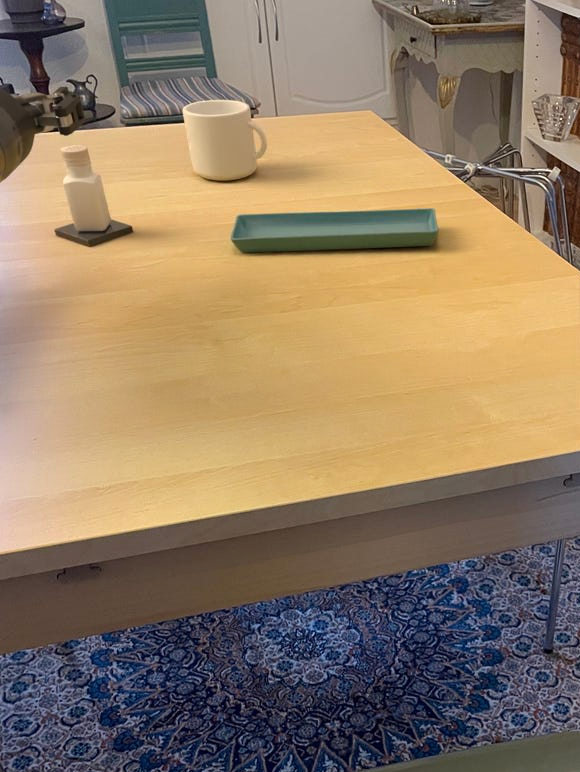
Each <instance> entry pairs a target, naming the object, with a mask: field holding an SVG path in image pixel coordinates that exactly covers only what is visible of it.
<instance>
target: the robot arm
mask: <svg viewBox="0 0 580 772" xmlns="http://www.w3.org/2000/svg"><path fill="white" fill-rule="evenodd" d="M31 103H35V105H33V104H31ZM51 104H52V110H53V111H51V107H50V105H51ZM84 123H86V117H85V112H84V108H83V104H82V99H81V95H79V94H76V93H74V92H73V91H71V90H69V88H68V86H59V87H58V88H57V89H56V90H55V91H54V92H52V93H51V94H45V93H41V92H37V91H35V92H30V93H25V94H21V95H16V94H10V93H9V92H7V91H6V90H5V89H3V88H0V183H2V182H3V181H5V180H6V179H7V178H8V177H9V176H11V175H12V173H14V171H15V170H16V169H17V168H18V167H19V166H20V165H21V164H22V163H23V162H24V161H25V160H26V159H27V158H28V156H29V155H30V154H31V152H32V149H33V146H34V142H35V141H34V140H35V137H36V135H38V134H42V133H47V132H51V131H54V129H55V128H56V127H57V130H58V133H59V135H61V136H64V137H67V136H69V135H73V134H74V132H75V131H77V130H78V129H80V127H81V126H82V125H84Z"/></svg>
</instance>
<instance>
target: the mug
mask: <svg viewBox="0 0 580 772" xmlns="http://www.w3.org/2000/svg"><path fill="white" fill-rule="evenodd" d="M251 113H252V112H251V107H250V105H249V104H248V103H246V102H244V101H243V102H242V101H239V100H232V99H210V100H209V99H207V100H202V101H201V100H200V101H195V102H191V103H189V104H186V105H185V106H183V108H182V116H183V122H184V127H185V133H186V138H187V145H188V149H189V157H190V161H191V166H192V170H193V171H194V172H195V174H196V175H198V176H199V177H200V178H201V177H202V178H204V179H206V180H211V181H219V182H220V181H225V182H226V181H235V180H240V179H244V178H246V177H248V176H251V175H253V173H255V172H256V170H257V168H258V159H260V158H262V157H263V156H264V155H265V153H266V151H267V148H268V140H267V136H266V134H265V132H264V131H263V129H262V128H261V126H259V124H257V123H255V122H254V121H252V120H253V119H252V114H251ZM254 131H255V132H256V133H257V135H258V136H259V138H260V142H261V144H260V149H259V150H258V151H256V142H255V136H254Z"/></svg>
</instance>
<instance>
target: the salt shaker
mask: <svg viewBox="0 0 580 772" xmlns="http://www.w3.org/2000/svg"><path fill="white" fill-rule="evenodd" d="M60 153H61V156H62V160H63V165H64V167H65V170H66V173H67V174H66V175H65V176H64V178H63V180H62V185H63V190H64V193H65V196H66V200H67V204H68V207H69V211H70V215H71V219H72V223H74V226H75V228H76V230H77V231H104V230H106V228H107V227H108V225H109V224H110V221H111V219H112V217H111V214H110V209H109V204H108V202H107V197H106V192H105V189H104V185H103V181H102V177H101V175H100V173H97V172H93V169H92V162H91V157H90V154H89V150H88V146H86V145H83V144H70V145H66V146H63V147H61V148H60Z"/></svg>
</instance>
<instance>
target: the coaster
mask: <svg viewBox="0 0 580 772" xmlns="http://www.w3.org/2000/svg"><path fill="white" fill-rule="evenodd" d="M133 228H134V227H133V226H132V225H130V224H128V223H124V222H121V221H118V220H114V219H112V218H111V221H110V224H109V225H108V227H107V228H106V230H104V231H77V230H76V228H75V226H74V223H73V222H72V223H69V224H66V225H64V226H63V225H62V226H60V227H57V228H54V233H55V236H58V237H59V238H63V239H66V240H69V241H72V242H75V243H78V244H81V245H84V246H85V247H89V248H90V247H93V246H96V245H99V244H102V243H105V242H109V241H111V240H113V239H117V238H119V237H122V236H125V235H128V234H132V233H133V232H134V229H133Z"/></svg>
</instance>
